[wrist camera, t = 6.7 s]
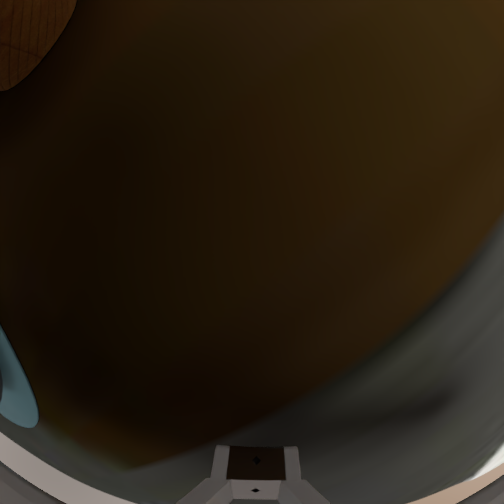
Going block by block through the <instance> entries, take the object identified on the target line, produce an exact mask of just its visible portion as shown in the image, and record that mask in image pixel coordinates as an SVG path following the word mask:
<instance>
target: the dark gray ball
mask: <svg viewBox="0 0 504 504" xmlns="http://www.w3.org/2000/svg"><path fill="white" fill-rule="evenodd" d="M2 393H3V380H2V374H1V370H0V402H1V399H2Z"/></svg>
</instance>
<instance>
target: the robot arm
mask: <svg viewBox="0 0 504 504" xmlns="http://www.w3.org/2000/svg"><path fill="white" fill-rule="evenodd" d="M233 499H278V502H279V503H280V504H331V503H330V502H329V501H328V500H327V499H326V498H324V497H323V496H322V495H321V494H320V493H319V492H318V491H317V490H316V489H315V488H314V487H313V486H312V485H311V484H310V483H309V482H307V481H306V480H301V470H300V462H299V453H298V448H297V446H287V447H283V446H277V447H242V446H229V445H216V448H215V453H214V459H213V465H212V471H211V476H210V478H205V479H204V480H203V481H202V482H201V483H200V484H199V485H197V486H196V487H195V488H194V489H193V490H191V491H190V492H189V493H188V494H187V495H185V496H184V497H183V498H182V499H180V500H179V501H178V502H177V503H175V504H229V503H230V502H231V501H232V500H233ZM0 504H66V503H64V502H62V501H60V500H58V499H57V498H55V497H53V496H51V495H49V494H48V493H46V492H44V491H43V490H41V489H39V488H38V487H36V486H35V485H33V484H32V483H30V482H28V481H27V480H25V479H24V478H23V477H21V476H20V475H18V474H17V473H15V472H14V471H13V470H11V469H10V468H9V467H7V466H6V465H4V464H3V463H2V462H1V461H0ZM457 504H504V475H502V476H501V477H500V478H498V479H496V480H495V481H494V482H492V483H490V484H489V485H487V486H486V487H484V488H483V489H481V490H479V491H478V492H476V493H475V494H473V495H471V496H469V497H468V498H466V499H464V500H462V501H460V502H459V503H457Z"/></svg>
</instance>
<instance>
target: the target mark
mask: <svg viewBox="0 0 504 504" xmlns="http://www.w3.org/2000/svg"><path fill="white" fill-rule="evenodd" d="M0 370H1V374H2V380H3V393H2V399H1V402H0V413H1V414H2V415H3V416H4V417H6V418H7V419H8V420H10V421H12V422H13V423H15V424H17V425H19V426H22V427H25V428H32V427H34V426H35V425H36V424H37V423H38V420H39V410H38V405H37V402H36V398H35V396H34V393H33V390H32V388H31V385H30V383H29V381H28V378H27V376H26V374H25V372H24V370H23V368H22V366H21V363H20V362H19V360H18V358H17V356H16V354H15V352H14V350H13V348H12V346H11V344H10V342H9V340H8V338H7V336H6V334H5V332H4V331H3V329H2V327H1V325H0Z"/></svg>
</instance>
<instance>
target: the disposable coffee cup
mask: <svg viewBox="0 0 504 504" xmlns="http://www.w3.org/2000/svg"><path fill="white" fill-rule="evenodd" d="M76 2H77V0H0V91H5V90H8V89H10V88H12V87H14V86H15V85H16V84H18V83H19V82H20V81H22V80H23V79H24V78H25V77H26V76H27V75H28V74H29V73H30V72H31V71H32V70H33V69H34V68H35V67H36V66H37V65H38V64H39V63H40V61H41V60H42V59H43V58H44V56H45V55H46V54H47V53H48V51H49V50H50V49H51V47H52V46H53V45H54V43H55V42H56V41H57V39H58V38H59V36H60V34H61V33H62V31H63V30H64V28H65V27H66V25H67V23H68V21H69V19H70V18H71V16H72V13H73V11H74V9H75V6H76Z"/></svg>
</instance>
